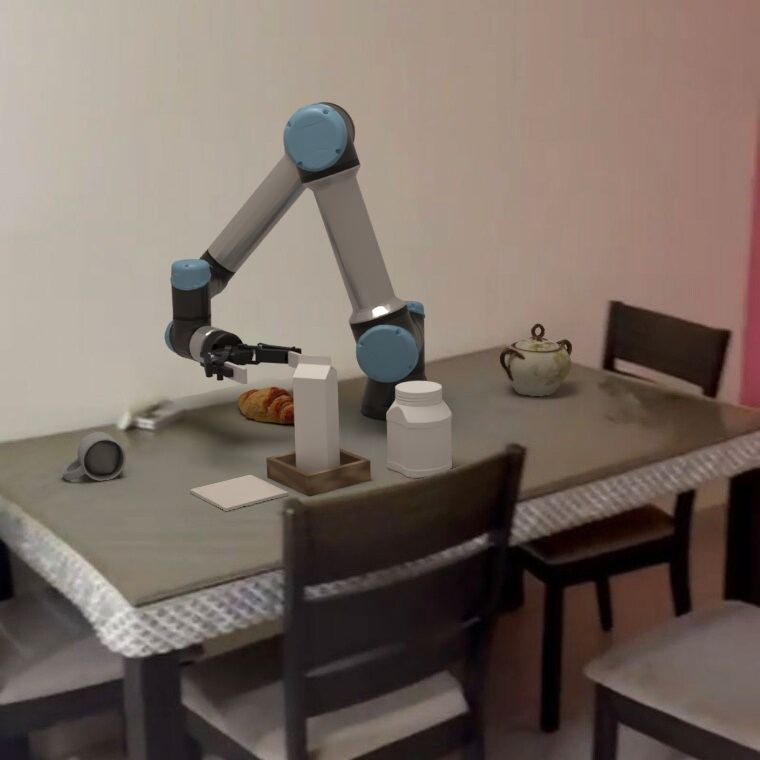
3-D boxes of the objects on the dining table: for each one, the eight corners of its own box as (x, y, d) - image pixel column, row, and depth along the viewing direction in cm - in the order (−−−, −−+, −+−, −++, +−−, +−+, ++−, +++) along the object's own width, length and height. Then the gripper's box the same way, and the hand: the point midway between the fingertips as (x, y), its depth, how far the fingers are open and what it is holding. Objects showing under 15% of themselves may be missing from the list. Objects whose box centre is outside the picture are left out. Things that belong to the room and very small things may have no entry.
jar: (379, 465, 225) (377, 384, 221) (421, 455, 230) (420, 376, 226) (417, 481, 216) (416, 397, 212) (460, 470, 221) (460, 388, 217)
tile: (250, 477, 219) (250, 474, 219) (288, 495, 210) (287, 492, 210) (190, 492, 212) (189, 489, 212) (226, 511, 203) (225, 508, 203)
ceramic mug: (118, 464, 228) (114, 424, 226) (127, 477, 221) (124, 436, 219) (59, 474, 224) (54, 433, 222) (67, 487, 217) (62, 445, 215)
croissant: (230, 425, 264) (213, 396, 260) (263, 395, 269) (247, 366, 265) (291, 444, 248) (274, 414, 244) (325, 412, 253) (308, 382, 249)
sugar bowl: (548, 378, 283) (549, 313, 279) (593, 391, 271) (595, 323, 267) (478, 391, 273) (478, 324, 269) (522, 406, 261) (523, 336, 257)
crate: (327, 461, 227) (327, 443, 226) (370, 479, 217) (370, 460, 216) (267, 476, 220) (266, 457, 219) (308, 496, 210) (308, 476, 209)
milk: (309, 472, 222) (304, 350, 217) (341, 474, 220) (337, 352, 215) (296, 482, 217) (291, 358, 211) (329, 485, 215) (324, 360, 209)
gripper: (273, 358, 247) (335, 380, 231) (159, 377, 232) (217, 402, 216) (272, 321, 245) (335, 340, 229) (158, 338, 231) (216, 360, 214)
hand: (278, 370), depth 223 cm, fingers open, 13 cm apart
